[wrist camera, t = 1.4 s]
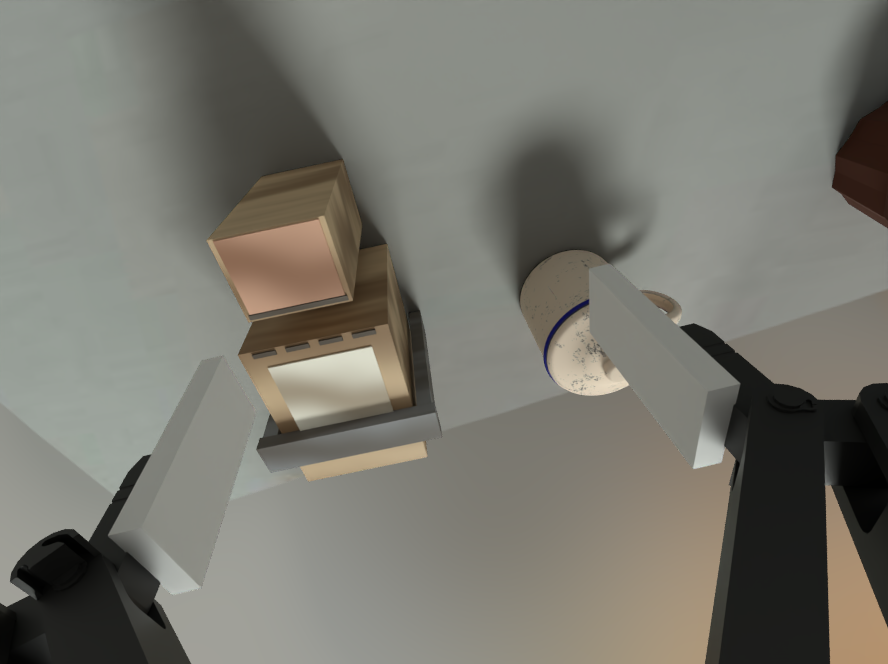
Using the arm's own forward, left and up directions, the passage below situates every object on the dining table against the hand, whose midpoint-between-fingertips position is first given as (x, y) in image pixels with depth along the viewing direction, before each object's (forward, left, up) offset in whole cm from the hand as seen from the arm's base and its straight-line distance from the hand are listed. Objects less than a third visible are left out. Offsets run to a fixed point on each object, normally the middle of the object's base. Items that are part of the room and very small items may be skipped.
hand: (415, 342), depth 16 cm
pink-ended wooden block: (+5, -5, -21) cm, 22 cm away
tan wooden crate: (+12, +3, -21) cm, 24 cm away
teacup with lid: (-1, +19, -21) cm, 28 cm away
